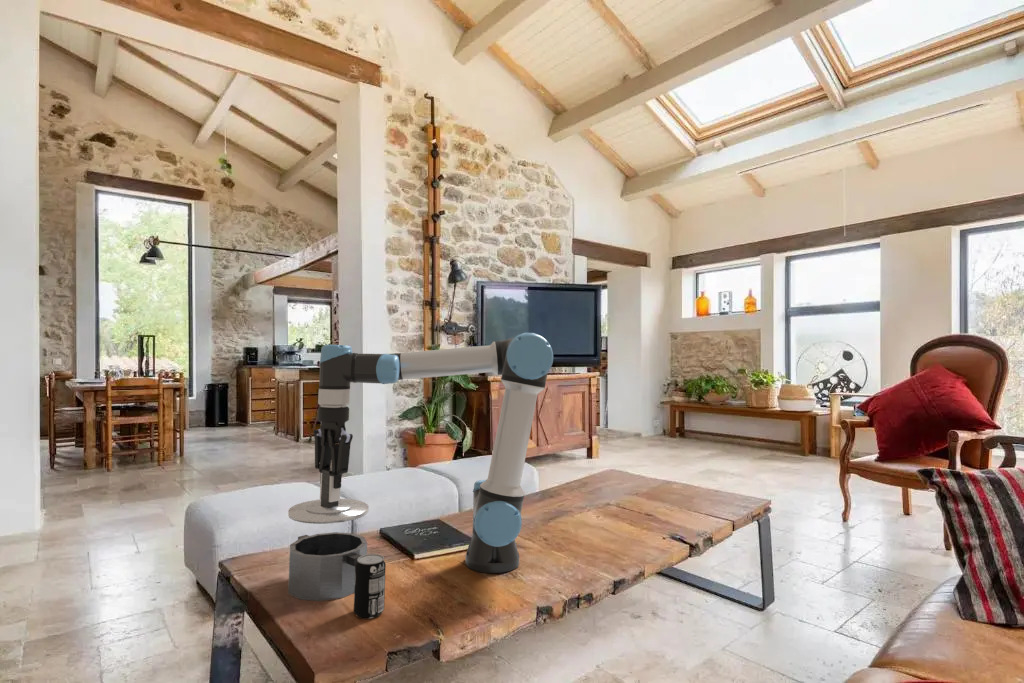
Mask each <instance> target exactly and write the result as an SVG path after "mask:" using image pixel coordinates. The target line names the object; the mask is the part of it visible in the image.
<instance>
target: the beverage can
mask: <svg viewBox="0 0 1024 683" xmlns="http://www.w3.org/2000/svg"><path fill="white" fill-rule="evenodd" d="M357 561H358V562H357V564H356V566H355V587H354V593H353V594H354V596H353V614H354V615H355V616H356V617H357V618H359V619H364V620H365V619H366V620H367V619H374V618H377V617H379V616H380V615H381V614H382V613H383V612H384V611H385V593H386V562H385V557H384V555H382V554H377V553H369V554H368V553H367V555H363V556H360V557H359V558H358V559H357Z"/></svg>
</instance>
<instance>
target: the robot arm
mask: <svg viewBox="0 0 1024 683" xmlns="http://www.w3.org/2000/svg"><path fill="white" fill-rule="evenodd" d="M320 350H321V351H320V360H319V383H318V385H319V386H318V397H317V398H318V400H317V405H319V407H318V408H317V421H318V422H320V423H321V424H320V428H319V429H313V438H314V468H315V469H316V470H317V469H318V472H319V473H320V476H319V485H320V487H319V492H320V493H319V500H320V499H321V488H322V470H323V469H329V468H332V473H331V474H330V483H329V502H335V501H339V500H340V499H341V487H342V475H344V474H347V473H348V472H349V464H350V463H349V462H350V455H351V454H350V452H351V443H352V440H353V438H354V436H353V434H352V433H348V432H347V428H346V423H347V422H348V421H349V420H350V408H349V406H348V405H349V404H350V392H351V391H350V390H351V383H353V384H356V383H360V384H361V383H362V384H380V385H389V384H396V383H398V381H403V380H412V379H413V380H414V379H425V378H437V377H439V378H440V377H450V376H460V375H461V376H462V375H473V374H483V373H485V374H486V373H493V374H495V375H496V376H500V375H501V378H500V381H501V383H502V385H503V386H504V393H503V398H502V402H501V408H500V414H499V418H498V424H497V429H496V433H495V439H494V444H493V449H492V455H491V460H490V465H489V470H488V475H487V478H486V479H480V480H476V481H475V482H474V484H473V489H472V492H473V493H472V494H473V502H472V504H473V506H472V532H471V538H470V540H469V544H468V546H467V551H466V553H465V558H464V559H465V563H464V564H465V566H466V567H467V568H468V569H470V570H473V571H476V572H478V573H479V572H480V573H487V574H488V573H489V574H500V573H506V572H510V571H513V570H515V569H517V568H518V567H519V566H520V553H519V551H518V546H517V543H516V542H517V541H516V539H517V538H518V537H519V535H520V532H521V530H522V525H523V522H522V521H523V520H522V510H523V505H524V504H523V503H524V500H525V494H526V493H525V491H524V490H523V487H522V486H521V484H522V477H523V473H524V467H525V462H526V456H527V451H528V448H529V443H530V442H529V441H530V438H531V436H530V435H531V431H532V425H533V421H534V415H535V410H536V409H535V408H536V404H537V399H538V394H540V393H541V392H543V391H544V390H545V388H546V383H547V380H548V374H549V371H550V369H552V366H553V363H554V353H553V348H552V346H551V344H550V343H549V341H548V340H547V339H546V338H544V337H543V336H542V335H540V334H538V333H535V332H523V333H519V334H517V335H516V336H514V337H511V338H509V339H508V338H507V339H503V340H497V341H496V340H495V341H492V343H490V344H489V345H479V346H478V345H477V346H467V347H465V346H464V347H456V348H445V349H444V348H442V349H432V350H431V349H429V350H420V351H409V352H407V351H406V352H398V353H397V352H396V353H357V352H353V348H352V346H351V345H346V344H324V345H322V347H321V349H320Z"/></svg>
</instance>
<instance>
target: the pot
mask: <svg viewBox="0 0 1024 683" xmlns="http://www.w3.org/2000/svg"><path fill="white" fill-rule="evenodd" d="M367 554H368V542H367V540H366V537H365V536H362V535H359V534H356V533H353V532H352V533H351V532H341V531H340V532H339V531H336V532H335V531H334V532H324V533H323V532H322V533H315V534H312V535H308V534H303V535H301V536H297V540H296V541H294V542H292V543H290V544H289V562H288V566H289V567H288V585H287V586H288V587H287V588H288V595H290V596H291V597H295V598H296V599H298V600H303V601H314V602H323V601H330V600H336V599H337V600H338V599H342V598H345V597H348V596H350V595H353V594H354V587H355V566H356V564H357V562H358V561H357V559H358V558H359V557H360V556H363V555H367Z"/></svg>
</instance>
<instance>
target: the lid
mask: <svg viewBox="0 0 1024 683" xmlns="http://www.w3.org/2000/svg"><path fill="white" fill-rule="evenodd" d="M331 473H332V467H330V468H329V469H323V470H322V488H321V499H320V498H319V499H315V500H314V499H313V500H308V501H303V502H301V503H296V504H295V505H292V506H291V507H290V508H289V509H288V510H287V511H288V512H287V514H288V515H287V516H288V518H289V519H291V520H292V521H295V522H299V523H303V524H319V525H320V524H321V525H322V524H325V525H326V524H335V523H336V524H338V523H344V522H350V521H354V520H357V519H361V518H362V517H364V516H366V515H367V514H368V513H369V505H368V503H366V502H365V501H364V502H363V501H361V500H357V499H350V498H340V500H339V501H335V502H329V483H330V474H331Z"/></svg>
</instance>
